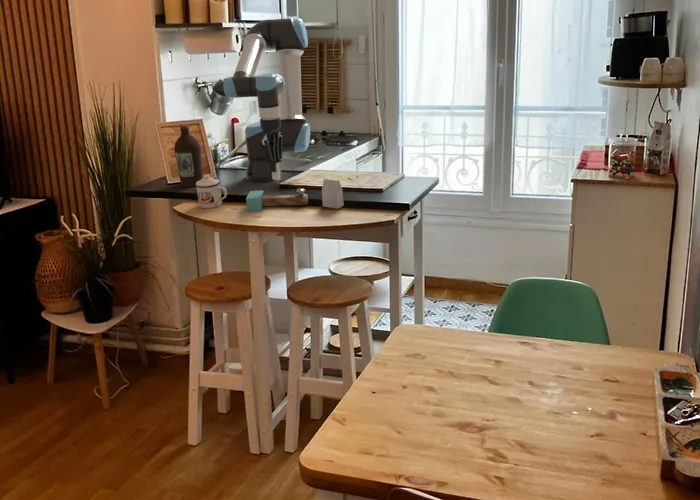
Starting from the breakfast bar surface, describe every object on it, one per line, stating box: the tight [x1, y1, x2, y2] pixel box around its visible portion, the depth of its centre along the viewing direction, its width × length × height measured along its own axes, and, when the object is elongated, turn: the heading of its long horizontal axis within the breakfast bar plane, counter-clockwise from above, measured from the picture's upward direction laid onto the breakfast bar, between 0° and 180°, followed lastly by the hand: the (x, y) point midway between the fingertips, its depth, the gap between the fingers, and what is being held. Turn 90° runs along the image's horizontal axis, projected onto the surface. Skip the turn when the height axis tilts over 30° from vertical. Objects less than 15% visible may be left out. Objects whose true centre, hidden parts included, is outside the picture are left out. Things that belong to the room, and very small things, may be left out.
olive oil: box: [173, 123, 204, 188], centre depth 311 cm, size 11×11×25 cm
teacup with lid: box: [195, 174, 228, 209], centre depth 283 cm, size 12×9×12 cm
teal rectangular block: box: [245, 189, 264, 213], centre depth 279 cm, size 10×5×5 cm, turn 178°
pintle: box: [295, 187, 306, 196], centre depth 278 cm, size 3×3×2 cm
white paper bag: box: [321, 178, 345, 210], centre depth 274 cm, size 4×7×10 cm, turn 56°
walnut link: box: [262, 193, 309, 207], centre depth 280 cm, size 21×5×3 cm, turn 87°
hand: (276, 179), depth 283 cm, fingers closed
